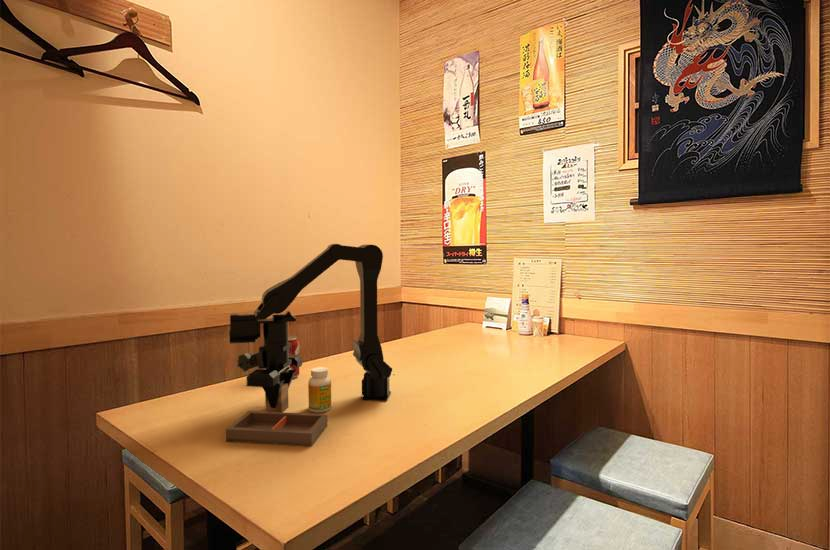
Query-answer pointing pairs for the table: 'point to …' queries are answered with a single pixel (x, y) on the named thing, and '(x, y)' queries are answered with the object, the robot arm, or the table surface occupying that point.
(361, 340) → the robot arm
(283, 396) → the walnut block
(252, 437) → the tray
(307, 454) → the table surface
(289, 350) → the soda can
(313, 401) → the supplement bottle
